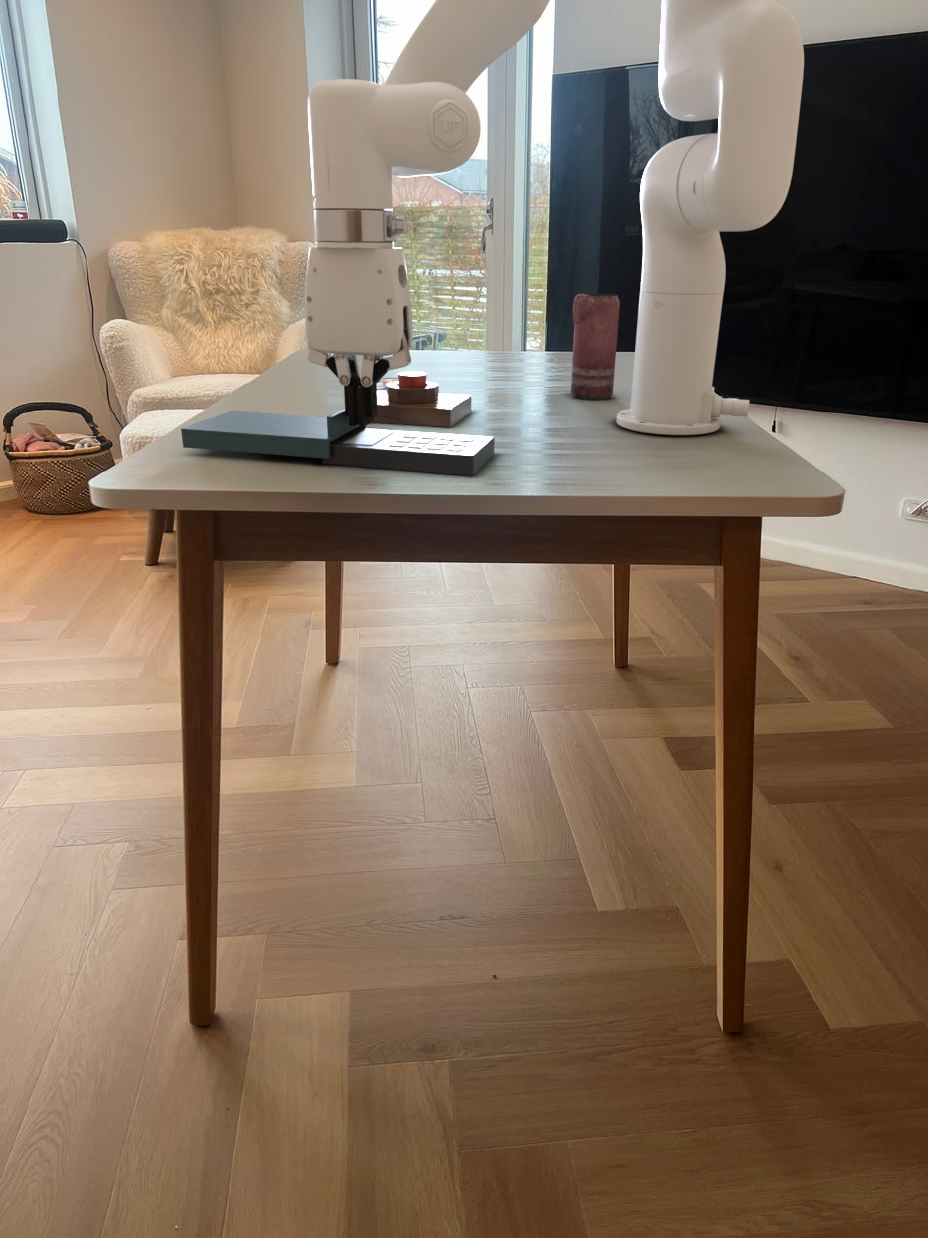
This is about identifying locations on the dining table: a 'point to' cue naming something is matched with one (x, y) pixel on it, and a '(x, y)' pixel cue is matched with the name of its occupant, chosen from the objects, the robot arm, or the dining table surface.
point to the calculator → (411, 451)
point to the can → (594, 345)
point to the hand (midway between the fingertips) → (361, 423)
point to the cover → (268, 433)
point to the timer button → (412, 379)
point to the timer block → (420, 406)
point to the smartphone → (384, 381)
